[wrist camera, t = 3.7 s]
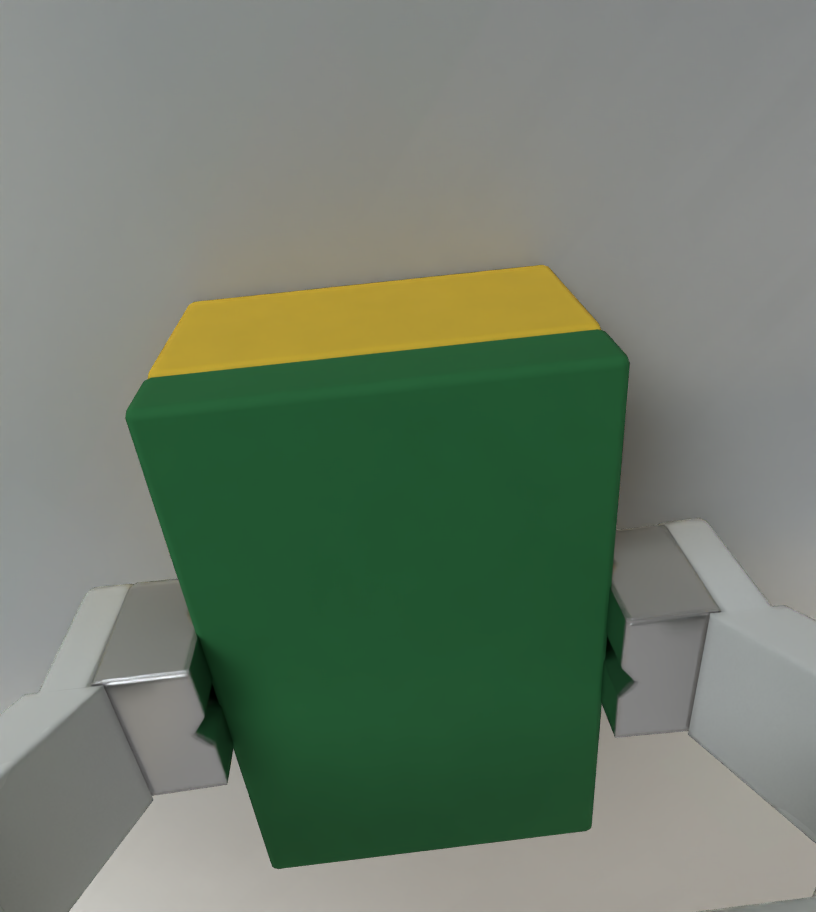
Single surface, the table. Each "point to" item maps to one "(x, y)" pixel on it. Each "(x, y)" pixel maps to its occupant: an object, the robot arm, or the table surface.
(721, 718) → the robot arm
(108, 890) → the table surface
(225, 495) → the sponge
